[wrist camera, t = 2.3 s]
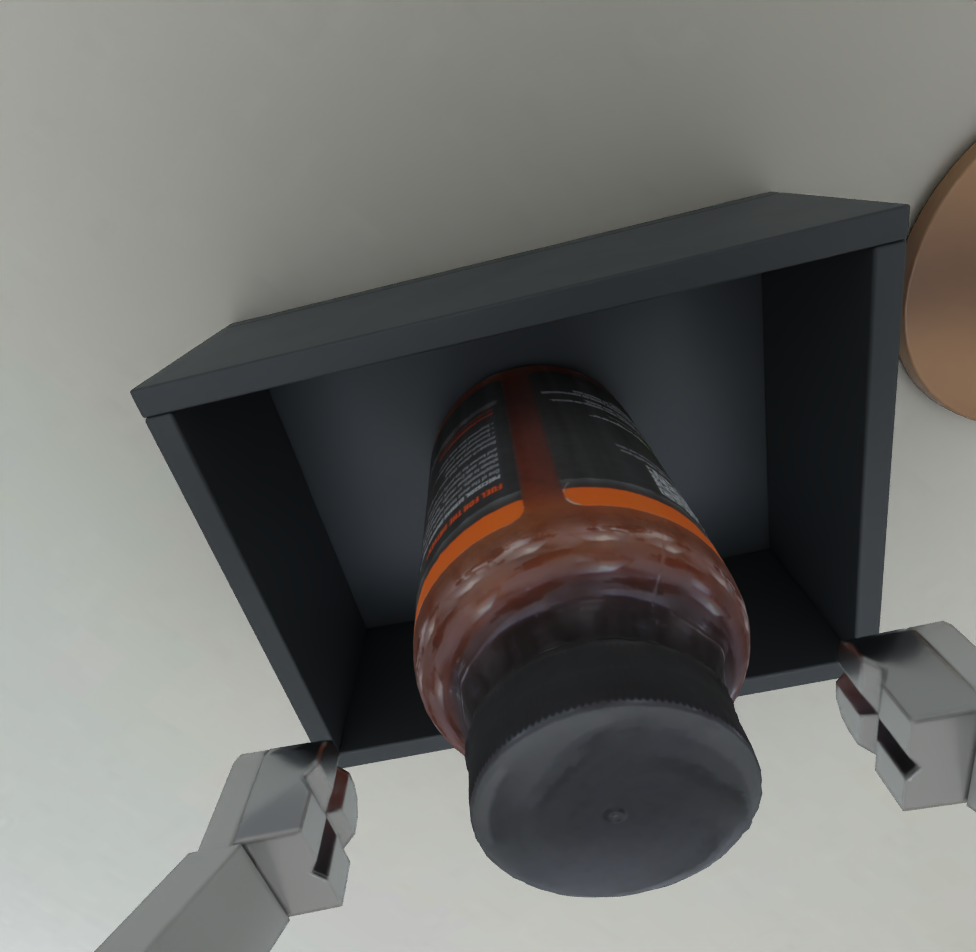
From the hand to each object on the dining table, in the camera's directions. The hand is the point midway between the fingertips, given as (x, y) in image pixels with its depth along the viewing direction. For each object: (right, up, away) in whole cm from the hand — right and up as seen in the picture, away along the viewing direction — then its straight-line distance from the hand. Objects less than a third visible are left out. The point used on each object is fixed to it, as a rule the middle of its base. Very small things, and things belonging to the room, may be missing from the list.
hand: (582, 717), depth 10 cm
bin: (0, +5, +9) cm, 10 cm away
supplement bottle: (0, +5, +8) cm, 10 cm away
